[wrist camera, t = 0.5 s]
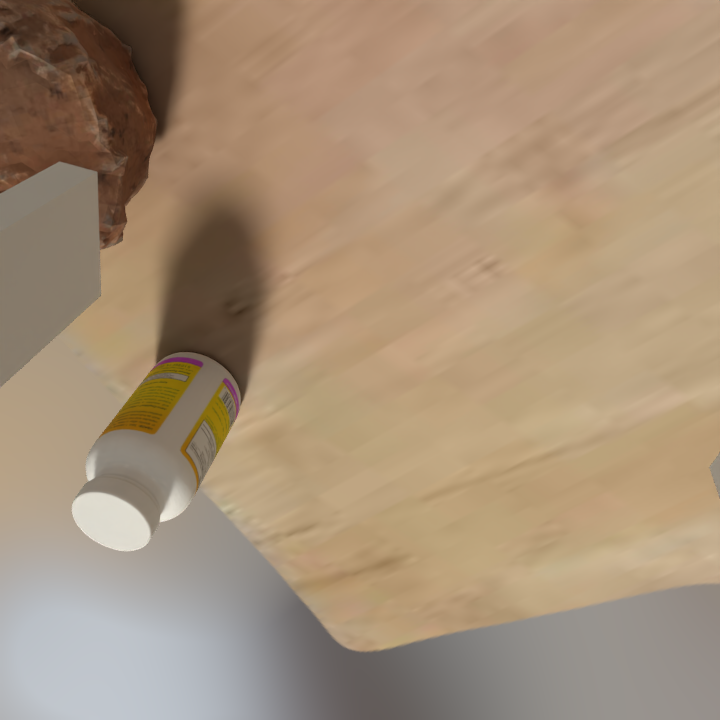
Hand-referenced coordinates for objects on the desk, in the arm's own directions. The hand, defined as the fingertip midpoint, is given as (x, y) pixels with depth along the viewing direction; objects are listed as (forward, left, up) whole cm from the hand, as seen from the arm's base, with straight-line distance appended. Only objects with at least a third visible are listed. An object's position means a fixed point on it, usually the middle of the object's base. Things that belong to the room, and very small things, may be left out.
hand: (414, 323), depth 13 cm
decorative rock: (+21, +6, -25) cm, 33 cm away
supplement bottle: (+13, +24, -25) cm, 37 cm away
